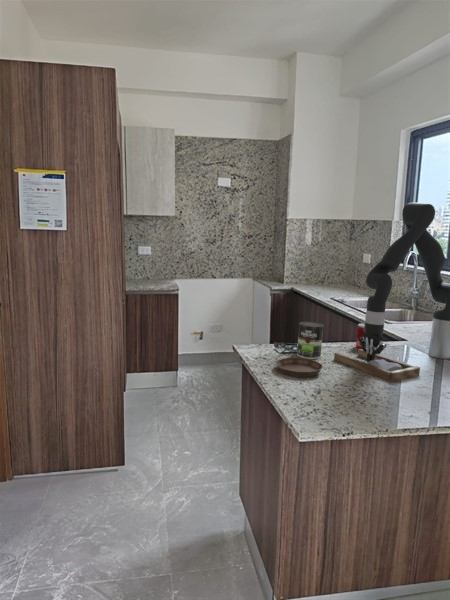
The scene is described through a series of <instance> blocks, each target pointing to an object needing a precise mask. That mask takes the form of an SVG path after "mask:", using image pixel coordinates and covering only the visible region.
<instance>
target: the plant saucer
mask: <svg viewBox="0 0 450 600" xmlns="http://www.w3.org/2000/svg"><path fill="white" fill-rule="evenodd" d="M275 365H276V366H277V368H278V370H279V371H280V372H281V373H282V374H284V375H287V376H290V377H295V378H296V377H299V378H310V377H315V376H316V375H318V374H319V373H320V372H321V370H322V369H323V367H324V366H323V365H322V363H320V362H318V361H316V360H314V359H305V358H301V357H286V358H281V359H279V360H277V361H276V362H275Z"/></svg>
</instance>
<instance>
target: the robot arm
mask: <svg viewBox="0 0 450 600" xmlns="http://www.w3.org/2000/svg"><path fill="white" fill-rule="evenodd" d="M401 214H402V220H403V223H404V225H405V227H406V228H407V231H406V232H405V233H404V234H403V235H402V236H400V237H398V239H396V240H395V241H394V242H392V243H391V245H390V246H389V247H388V248H387V250H386V252H385V253H384V255H383V257H382V258H381V260H380V261H379V262H378V263H376V265H375V266H374V267H373V268H372V269H371V270H370V271H369V273H368V274H367V276H366V278H365V284H366V286H367V287H368V288H369V289H371V290H375V292H374V294H373V295H370V296H368V298H367V302H366V303H367V305H366V311H365V316H364V317H365V318H364V332H365V333H364V335H363V337H362V338H359V342H360V344H361V346H362V349H363V351H365V352H366V353H367V359H366V363H368V362H369V361H371V360H374V359H375V355H376V354H378V355H381V353H382V351H384V350H385V349H386V348H387V344H386V343H384V342H383V334H384V331H385V330H384V328H385V322H386V320H385V319H386V306H387V305H386V304H387V300H388V298H389V295H390V292H392V287H393V279H392V277H391V276H390V274H389V273H393V272H395V271H397V270H398V269H399V267H400V265H401V264H402V262H403V260H404V258H405V257H406V255H407V254H408V252H409V251H410V250H411V249H412V247H413V246H415V248H416V250H417V253H418V257H419V259H420V263H421V264H422V267H423V268H424V272H425V275H426V278H427V281H428V285H429V290H430V295H431V297H432V299H433V300H434V301H435V302H436V303H438V304H439V303H441V304H444V305H445V306H444V308H443V309H440V310H435V311H434V312H433V314H432V315H433V316H432V323H431V324H432V325H431V332H430V339H429V340H430V341H429V347H428V348H429V349H428V356H429V357H432V358H436V359H443V360H447V359H450V282H445V281H444V280H443V278H442V275H441V272H442V270H443V268H444V265H445V264H446V263H445V262H446V256H445V252H444V250H443V247H442V245H441V243H440V242H439V241H438V240H437V239H436V238H435V237H434V236H433V235H432V234H431V233H430V232H429V230H427V229H428V228H429V227H430V225H431V224H432V223H433V221H434V219H435V216H436V208H435V206H434V205H433V204H431V203H427V202H415V201H414V202H413V201H412V202H408V203H406V204H405V205H404V206H403V208H402V213H401Z"/></svg>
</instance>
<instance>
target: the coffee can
mask: <svg viewBox="0 0 450 600" xmlns="http://www.w3.org/2000/svg"><path fill="white" fill-rule="evenodd" d="M298 325H299V327H298V335H297V336H298V337H297V351H296V355H297V356H298V358H304V359H310V360H318V359H321V354H322V345H323V344H322V343H323V331H324V326H325V325H324V324H323V323H321V322H317V321H316V322H315V321H300V322H299V323H298Z"/></svg>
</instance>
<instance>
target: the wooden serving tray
mask: <svg viewBox="0 0 450 600" xmlns="http://www.w3.org/2000/svg"><path fill="white" fill-rule="evenodd" d="M357 350H358V351H357V357H360V358H362V359H364V360H365V359H366V360H367V353H366V352H365V351H363V349H358V348H357ZM333 357H334V358H333V360H334V361H336V362H339V363H341V364H344V365H347V366H350V367H352V368H355V369H358V370H360V371H363V372H366V373H368V374H370V375H374V376H375V377H379V378H381V379H384V380H387V381H389V382H391V383H393V382H397V381H402V380H405V379H406V380H407V379H411V378H414V377H419V376H420V371H421V367H420V366H418V365H417V366H414V365H411V364H408V363H406V362H402V361H399V360H396V359H393V358H389V357H387V356H384V355H381V354H376V355H375V359H374V360H382V359H384V360H385V361H386V362H389V363H398V364H399V365H401V367H402V369H401V370H396V371H391V372H390V371H387V370H385V369H382V368H379V367H376V366H373V365H371V364H368V363H367V362H365V361H362V360H359V359H357V358H353V357H351V356H349V355H345V354H342V353H339V352H334V355H333Z"/></svg>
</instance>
